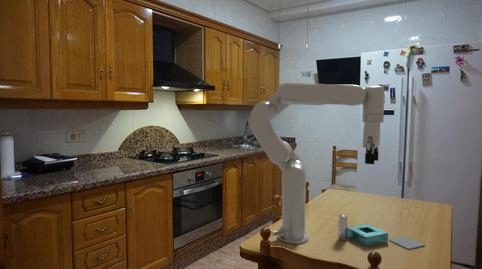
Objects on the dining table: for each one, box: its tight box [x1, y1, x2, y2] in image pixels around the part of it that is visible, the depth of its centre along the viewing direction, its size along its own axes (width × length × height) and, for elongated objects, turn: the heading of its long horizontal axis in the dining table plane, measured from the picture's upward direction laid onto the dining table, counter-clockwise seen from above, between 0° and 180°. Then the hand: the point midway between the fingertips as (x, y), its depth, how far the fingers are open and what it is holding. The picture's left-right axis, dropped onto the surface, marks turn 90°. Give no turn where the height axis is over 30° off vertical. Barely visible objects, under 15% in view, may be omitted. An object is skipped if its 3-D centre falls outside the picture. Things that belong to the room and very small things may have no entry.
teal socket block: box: [347, 223, 389, 248], centre depth 127 cm, size 11×11×4 cm
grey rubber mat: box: [388, 235, 426, 251], centre depth 124 cm, size 9×9×1 cm
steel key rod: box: [337, 213, 348, 242], centre depth 128 cm, size 4×4×10 cm
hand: (371, 162), depth 121 cm, fingers open, 9 cm apart
